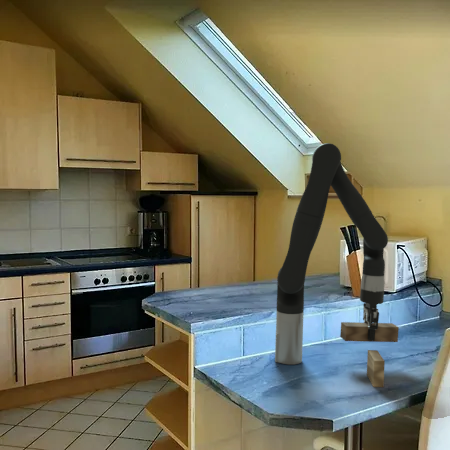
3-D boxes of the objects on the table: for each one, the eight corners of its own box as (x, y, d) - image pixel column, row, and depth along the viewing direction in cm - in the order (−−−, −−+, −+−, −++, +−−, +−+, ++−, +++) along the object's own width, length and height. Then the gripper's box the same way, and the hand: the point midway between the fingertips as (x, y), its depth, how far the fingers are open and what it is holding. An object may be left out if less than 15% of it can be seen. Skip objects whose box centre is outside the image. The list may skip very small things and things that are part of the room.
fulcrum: (373, 386, 144) (374, 360, 143) (366, 374, 154) (367, 349, 153) (383, 387, 143) (384, 361, 143) (376, 375, 153) (377, 350, 153)
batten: (345, 341, 159) (346, 326, 158) (340, 336, 164) (341, 322, 163) (397, 342, 160) (398, 327, 160) (391, 337, 165) (392, 323, 165)
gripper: (357, 283, 168) (354, 331, 169) (364, 291, 154) (361, 343, 155) (379, 284, 168) (376, 332, 169) (389, 293, 153) (385, 345, 154)
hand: (369, 337), depth 162 cm, fingers closed on batten, 5 cm apart
